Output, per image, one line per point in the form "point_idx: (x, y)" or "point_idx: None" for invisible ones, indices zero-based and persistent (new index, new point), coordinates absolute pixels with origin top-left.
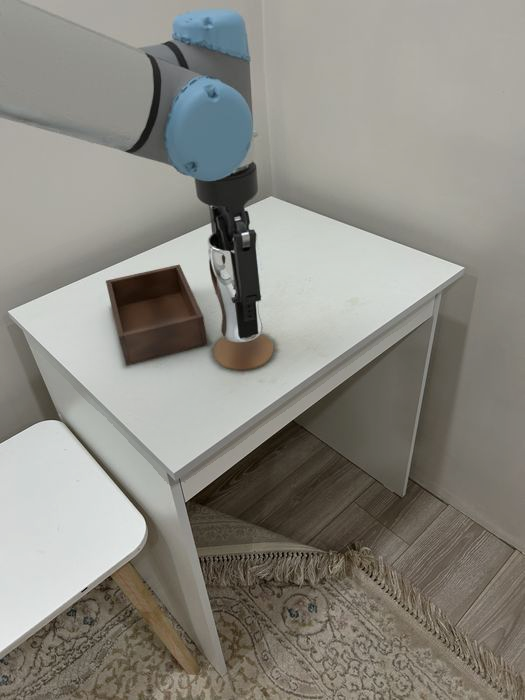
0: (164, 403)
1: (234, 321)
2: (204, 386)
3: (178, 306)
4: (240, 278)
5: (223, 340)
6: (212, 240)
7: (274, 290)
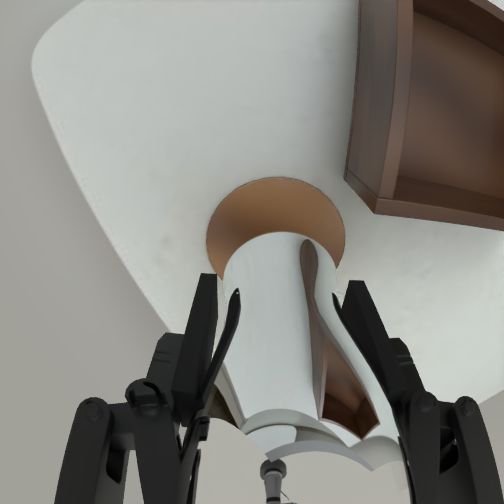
0: (176, 27)
1: (235, 297)
2: (193, 123)
3: (489, 177)
4: (57, 500)
5: (331, 218)
6: None
7: (408, 344)
